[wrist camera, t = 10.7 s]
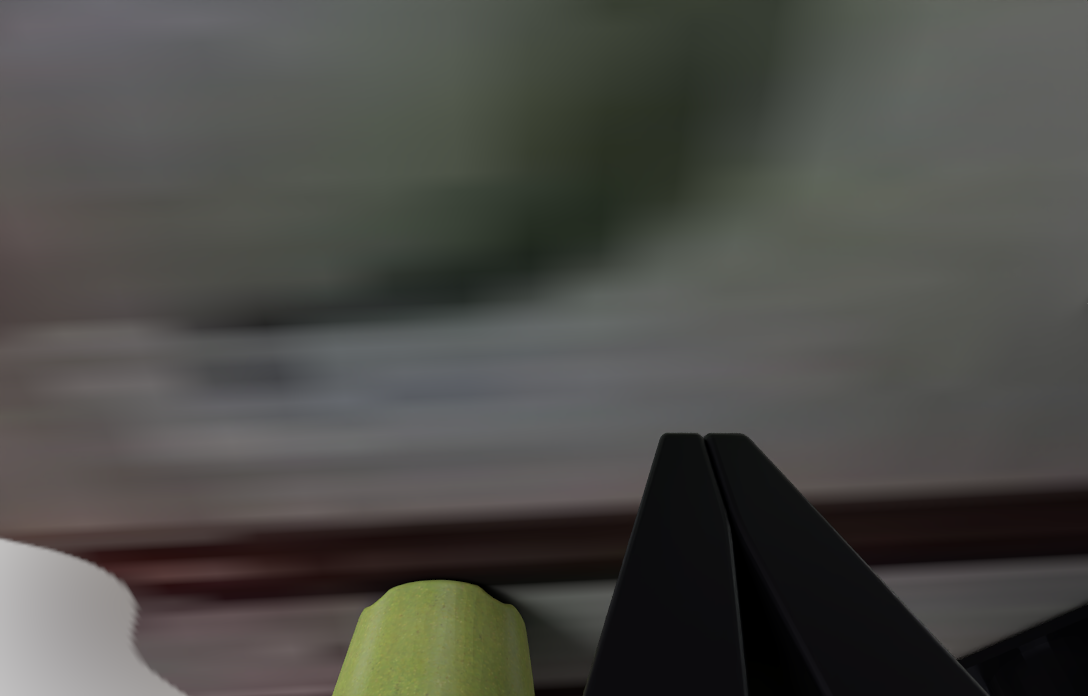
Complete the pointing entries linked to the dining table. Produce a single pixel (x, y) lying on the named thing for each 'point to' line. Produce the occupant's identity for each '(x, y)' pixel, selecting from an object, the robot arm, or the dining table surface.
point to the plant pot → (437, 645)
